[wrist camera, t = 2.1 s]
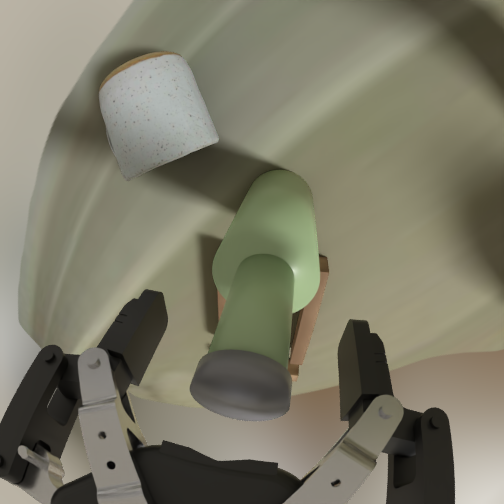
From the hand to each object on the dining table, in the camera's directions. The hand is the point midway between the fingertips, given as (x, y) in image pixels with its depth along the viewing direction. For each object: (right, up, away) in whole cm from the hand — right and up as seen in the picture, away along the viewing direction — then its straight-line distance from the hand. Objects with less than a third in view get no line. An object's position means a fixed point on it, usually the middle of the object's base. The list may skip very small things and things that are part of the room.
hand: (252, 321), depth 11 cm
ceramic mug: (-8, +14, +10) cm, 19 cm away
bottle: (+2, +7, +12) cm, 14 cm away
